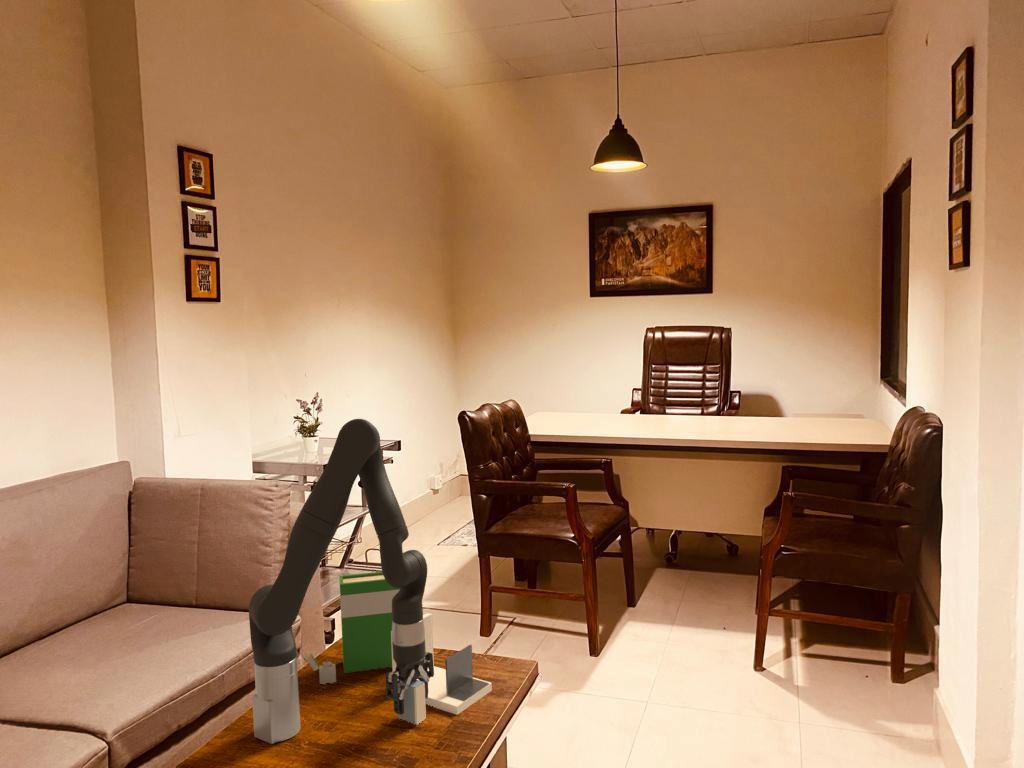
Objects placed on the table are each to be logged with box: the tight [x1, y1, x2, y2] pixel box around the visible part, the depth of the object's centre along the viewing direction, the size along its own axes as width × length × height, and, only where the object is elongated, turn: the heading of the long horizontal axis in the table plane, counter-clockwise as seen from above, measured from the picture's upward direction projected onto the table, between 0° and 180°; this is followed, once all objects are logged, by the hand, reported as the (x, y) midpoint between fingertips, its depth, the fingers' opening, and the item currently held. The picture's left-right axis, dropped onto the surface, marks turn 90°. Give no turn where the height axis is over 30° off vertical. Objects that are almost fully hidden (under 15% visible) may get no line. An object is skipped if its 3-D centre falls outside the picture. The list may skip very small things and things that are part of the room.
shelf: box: [391, 612, 493, 716], centre depth 196 cm, size 14×20×16 cm
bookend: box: [444, 644, 489, 701], centre depth 193 cm, size 10×5×9 cm, turn 146°
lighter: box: [305, 652, 337, 685], centre depth 203 cm, size 7×2×8 cm, turn 105°
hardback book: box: [338, 570, 400, 674], centre depth 214 cm, size 18×7×24 cm, turn 104°
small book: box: [396, 680, 427, 726], centre depth 184 cm, size 3×6×9 cm, turn 56°
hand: (411, 705), depth 184 cm, fingers open, 8 cm apart
